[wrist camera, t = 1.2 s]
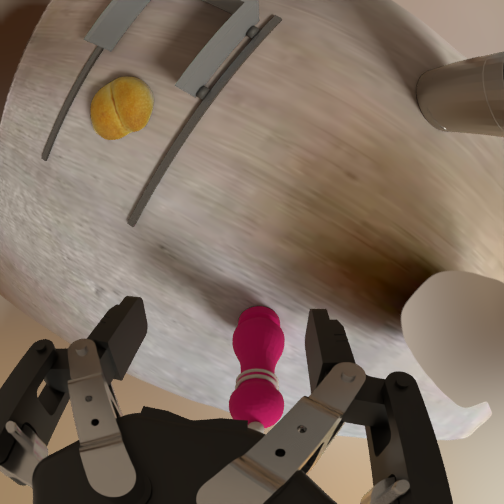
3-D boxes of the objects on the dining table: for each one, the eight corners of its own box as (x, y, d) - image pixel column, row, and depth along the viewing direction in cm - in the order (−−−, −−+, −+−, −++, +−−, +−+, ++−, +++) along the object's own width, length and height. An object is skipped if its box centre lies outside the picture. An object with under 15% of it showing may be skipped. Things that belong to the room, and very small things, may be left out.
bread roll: (162, 121, 32) (151, 120, 28) (106, 146, 33) (90, 148, 29) (148, 67, 29) (136, 60, 25) (93, 94, 30) (77, 92, 26)
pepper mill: (225, 317, 42) (204, 429, 24) (265, 294, 40) (265, 409, 22) (253, 347, 44) (247, 455, 26) (291, 327, 43) (304, 438, 24)
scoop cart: (159, -21, 23) (144, -41, 17) (265, 25, 26) (265, 4, 20) (103, 48, 27) (79, 37, 21) (202, 101, 31) (188, 93, 25)
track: (163, -31, 22) (162, -33, 22) (281, 20, 26) (282, 18, 26) (43, 157, 33) (41, 158, 33) (134, 226, 37) (132, 227, 37)
